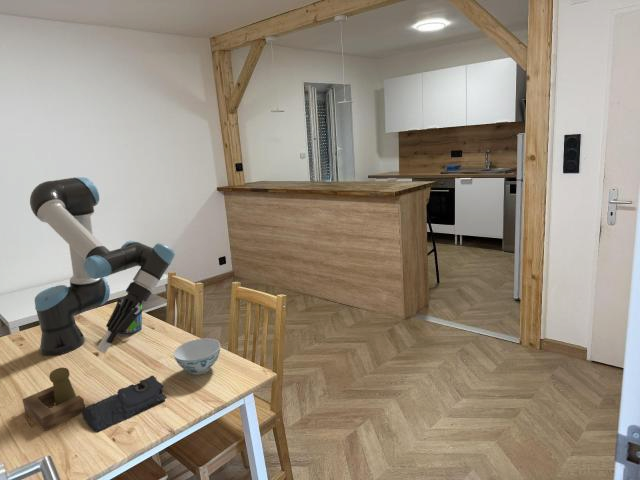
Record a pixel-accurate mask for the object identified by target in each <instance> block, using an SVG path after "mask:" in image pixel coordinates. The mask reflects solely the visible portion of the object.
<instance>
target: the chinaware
mask: <svg viewBox="0 0 640 480" xmlns="http://www.w3.org/2000/svg"><path fill="white" fill-rule="evenodd" d="M220 351H221V343H220V341H219V340H217V339H214V338H206V337H205V338H198V339H194V340H193V339H192V340H190V341H187V342H184V343H182V344H181V345H179V346H177V348H175V349H174V351H173V357H174V360H175V361H176V363H177V365H178V366H179V367H180V368H181V369H183V370H185V371H186V372H189V373H190V375H193V376H200V375H203V374H206V373H208V372H210V370H211V369H212V367H213V366H214V364H215V363H216V362H217V361H218V358H219V357H220Z"/></svg>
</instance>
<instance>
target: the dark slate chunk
mask: <svg viewBox="0 0 640 480" xmlns="http://www.w3.org/2000/svg"><path fill="white" fill-rule="evenodd" d="M163 389H164V385H163V384H162V383H161V382H160V381H158V379H157V378H156V377H155V375H150V376H149V377H146V378H145V379H142V380H139V382H137V383H136V384H130V385H128V386H126V387H122V388H119V389H118V390H117V392H116V393H117V394H113V395H110V396H108V397H105V398H104V399H101V400H99V401H97V402H95V403H92V404H89V405H87V406H85V407H84V408H83V409H82V413H81V415H82V416H83V417H82V418H83V420H84V421H85V422H86V425H87V426H89V428H90V429H91V430H92V431H93V432H96V433H101V432H102V431H105V430H106V429H108V428H111V427H112V426H115V425H117V424H120V423H121V422H124V421H127V420H130V419H131V418H133V417H135V416H138V415H140V414H142V413H144V412H146V411H148V410H151V409H152V408H154V407H157V406H160V405H161V404H163V403H165V402H166V399H167V398H168V397H167V396H166V395H165V394H164V393H163Z"/></svg>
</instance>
